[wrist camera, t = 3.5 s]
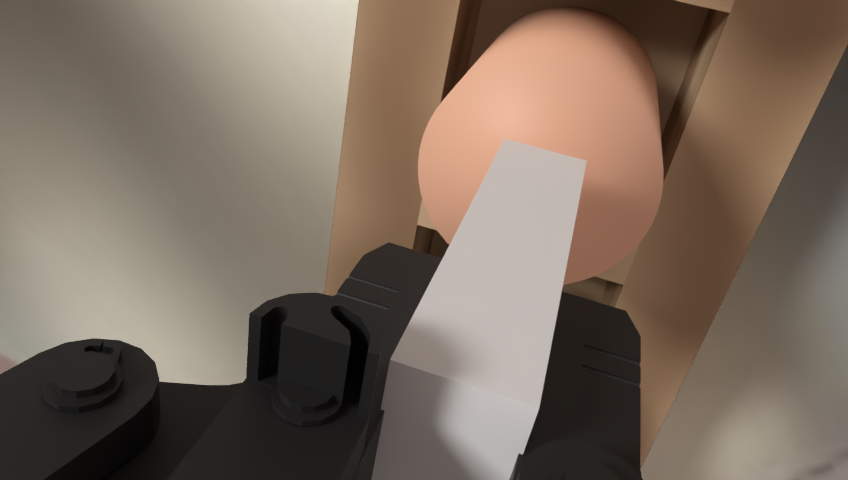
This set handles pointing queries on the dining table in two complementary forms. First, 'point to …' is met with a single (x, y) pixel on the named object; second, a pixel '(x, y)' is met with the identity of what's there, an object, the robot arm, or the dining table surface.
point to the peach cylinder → (556, 128)
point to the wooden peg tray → (680, 138)
